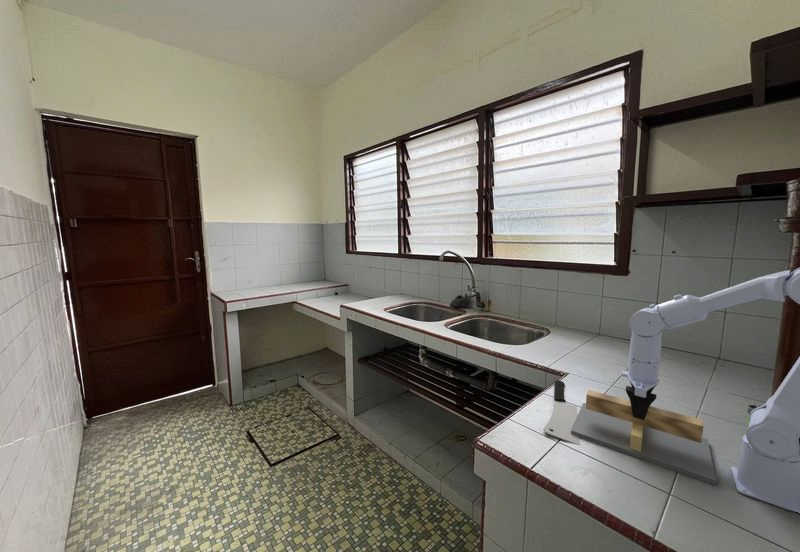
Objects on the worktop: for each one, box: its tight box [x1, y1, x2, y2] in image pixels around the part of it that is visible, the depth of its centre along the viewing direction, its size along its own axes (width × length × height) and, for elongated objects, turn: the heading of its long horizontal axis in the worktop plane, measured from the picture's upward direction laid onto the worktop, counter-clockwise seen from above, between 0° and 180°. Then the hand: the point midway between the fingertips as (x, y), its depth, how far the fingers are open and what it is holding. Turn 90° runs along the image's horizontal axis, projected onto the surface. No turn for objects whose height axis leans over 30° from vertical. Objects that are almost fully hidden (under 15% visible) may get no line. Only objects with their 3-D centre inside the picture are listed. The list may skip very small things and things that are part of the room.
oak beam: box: [585, 389, 704, 443], centre depth 76 cm, size 22×3×4 cm, turn 50°
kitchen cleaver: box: [543, 380, 581, 446], centre depth 90 cm, size 31×2×10 cm
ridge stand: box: [571, 402, 717, 486], centre depth 77 cm, size 26×16×4 cm, turn 50°
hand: (639, 412), depth 76 cm, fingers open, 5 cm apart
